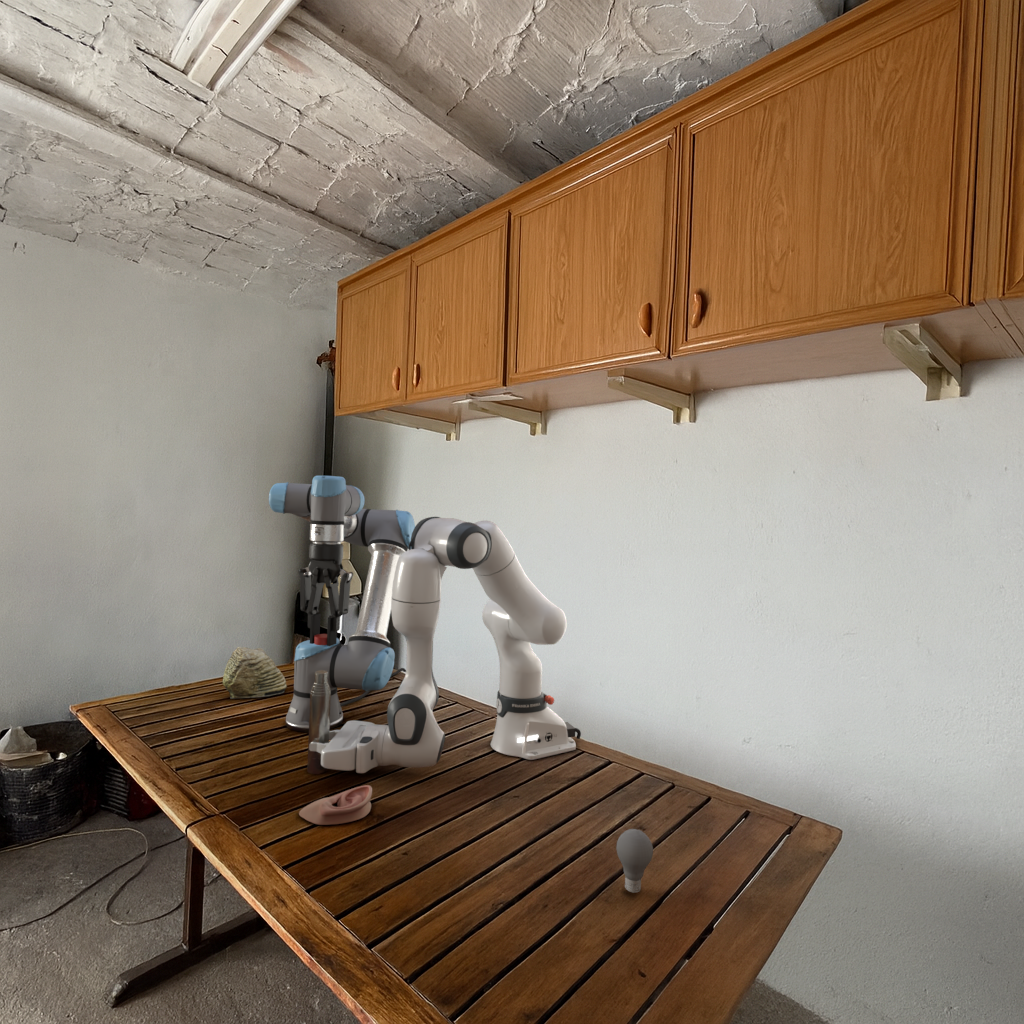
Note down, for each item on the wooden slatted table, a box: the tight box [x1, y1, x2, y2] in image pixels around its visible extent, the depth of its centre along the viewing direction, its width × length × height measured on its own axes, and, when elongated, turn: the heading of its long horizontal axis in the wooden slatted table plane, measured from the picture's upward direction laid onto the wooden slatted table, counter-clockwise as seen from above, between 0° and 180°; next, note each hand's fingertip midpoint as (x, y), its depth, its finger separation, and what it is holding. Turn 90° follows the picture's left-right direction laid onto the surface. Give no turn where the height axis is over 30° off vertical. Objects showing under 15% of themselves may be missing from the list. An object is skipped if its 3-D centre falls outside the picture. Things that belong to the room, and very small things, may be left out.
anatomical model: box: [298, 784, 373, 826], centre depth 127 cm, size 13×4×12 cm
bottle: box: [306, 670, 331, 775], centre depth 146 cm, size 5×5×23 cm
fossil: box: [222, 646, 288, 699], centre depth 198 cm, size 9×18×15 cm, turn 132°
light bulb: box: [615, 828, 654, 894], centre depth 106 cm, size 6×6×10 cm
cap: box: [314, 633, 327, 645], centre depth 146 cm, size 4×4×2 cm
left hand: (323, 643), depth 146 cm, fingers closed on cap, 4 cm apart
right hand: (314, 740), depth 147 cm, fingers closed on bottle, 4 cm apart
